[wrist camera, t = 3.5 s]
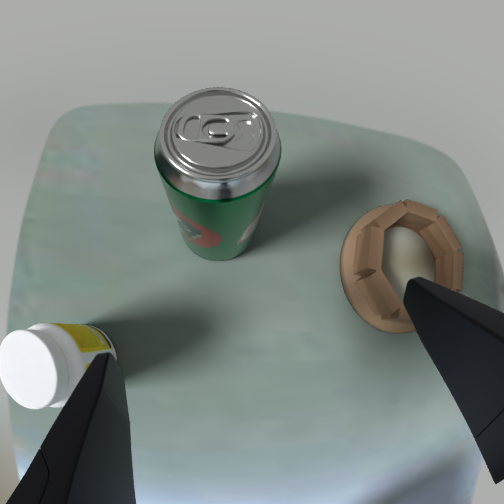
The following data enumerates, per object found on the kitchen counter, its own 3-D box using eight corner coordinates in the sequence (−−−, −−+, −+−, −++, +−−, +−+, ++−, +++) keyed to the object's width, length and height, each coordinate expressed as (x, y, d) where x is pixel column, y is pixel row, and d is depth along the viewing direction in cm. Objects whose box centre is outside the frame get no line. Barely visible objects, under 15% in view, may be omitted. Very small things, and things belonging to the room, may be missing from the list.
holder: (459, 284, 23) (485, 278, 20) (384, 359, 21) (409, 362, 18) (400, 189, 25) (421, 172, 21) (314, 249, 23) (329, 236, 19)
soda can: (252, 264, 22) (287, 195, 10) (179, 260, 22) (137, 187, 10) (254, 197, 23) (285, 85, 12) (186, 193, 23) (162, 79, 11)
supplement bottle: (55, 329, 19) (-15, 326, 11) (110, 319, 20) (52, 312, 12) (70, 393, 19) (5, 417, 10) (125, 385, 19) (75, 415, 11)
